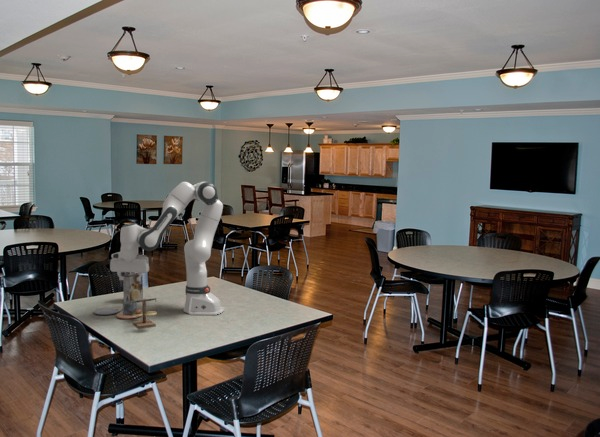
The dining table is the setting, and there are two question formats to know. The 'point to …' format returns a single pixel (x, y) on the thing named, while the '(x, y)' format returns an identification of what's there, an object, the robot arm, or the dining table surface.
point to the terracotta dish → (125, 316)
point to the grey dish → (106, 310)
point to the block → (128, 308)
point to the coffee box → (132, 288)
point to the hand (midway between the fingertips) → (129, 280)
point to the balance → (144, 322)
